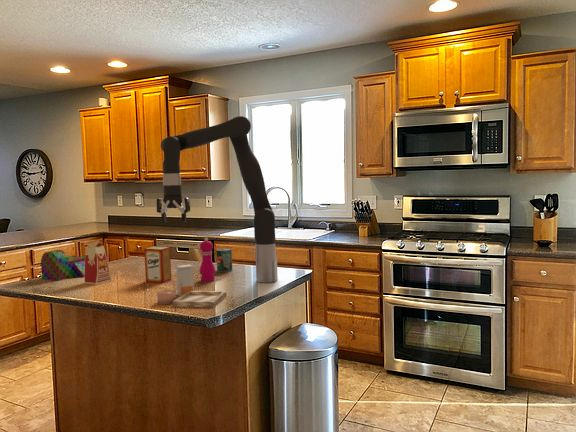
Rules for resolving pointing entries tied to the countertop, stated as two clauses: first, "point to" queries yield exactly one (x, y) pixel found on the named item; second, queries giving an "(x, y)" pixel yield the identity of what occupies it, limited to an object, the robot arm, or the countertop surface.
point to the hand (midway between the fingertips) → (174, 222)
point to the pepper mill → (207, 261)
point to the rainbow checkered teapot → (61, 265)
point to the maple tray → (200, 299)
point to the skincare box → (184, 279)
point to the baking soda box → (157, 264)
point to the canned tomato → (224, 259)
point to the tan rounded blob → (166, 296)
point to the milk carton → (96, 264)
